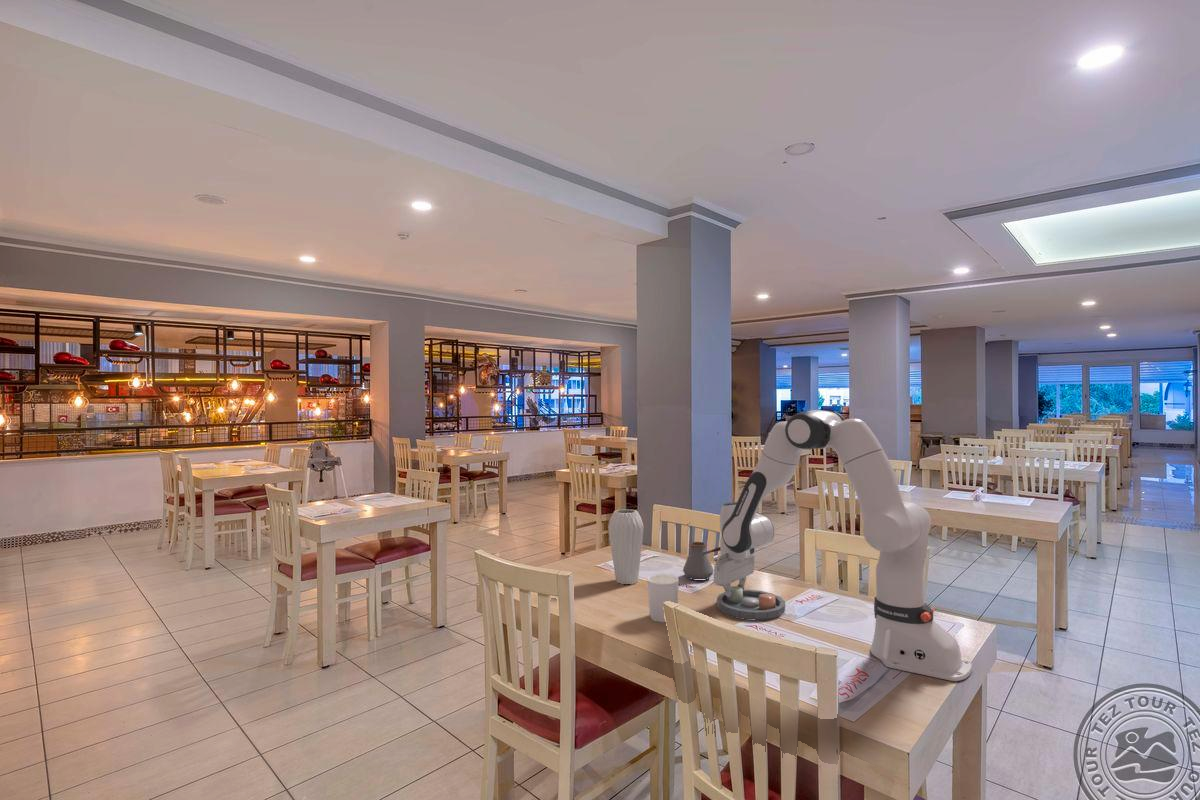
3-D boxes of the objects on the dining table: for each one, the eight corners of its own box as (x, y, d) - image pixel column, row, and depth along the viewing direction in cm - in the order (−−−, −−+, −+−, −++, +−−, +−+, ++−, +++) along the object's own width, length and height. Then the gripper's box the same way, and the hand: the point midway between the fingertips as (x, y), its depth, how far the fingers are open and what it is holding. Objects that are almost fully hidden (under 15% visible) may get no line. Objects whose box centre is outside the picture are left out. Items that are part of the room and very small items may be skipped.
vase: (645, 587, 205) (644, 514, 205) (609, 587, 205) (607, 515, 205) (643, 576, 218) (642, 507, 218) (609, 576, 218) (608, 508, 219)
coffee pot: (676, 577, 216) (676, 538, 216) (697, 571, 223) (696, 533, 223) (720, 591, 199) (720, 548, 199) (741, 584, 206) (740, 543, 207)
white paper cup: (654, 625, 170) (653, 585, 170) (643, 613, 179) (642, 575, 179) (684, 621, 172) (684, 582, 172) (672, 610, 182) (671, 572, 182)
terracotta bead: (778, 608, 178) (778, 596, 179) (770, 613, 175) (770, 600, 175) (763, 605, 182) (763, 592, 182) (756, 609, 178) (755, 596, 178)
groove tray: (796, 606, 183) (796, 599, 183) (764, 626, 168) (764, 617, 168) (738, 592, 197) (738, 585, 197) (704, 609, 182) (704, 601, 182)
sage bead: (745, 599, 187) (744, 587, 187) (739, 604, 183) (739, 592, 183) (730, 597, 190) (730, 585, 190) (725, 601, 186) (724, 589, 186)
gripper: (725, 559, 177) (726, 603, 177) (757, 546, 192) (758, 587, 191) (708, 555, 181) (709, 598, 181) (741, 543, 196) (742, 583, 196)
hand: (734, 592), depth 186 cm, fingers open, 6 cm apart
